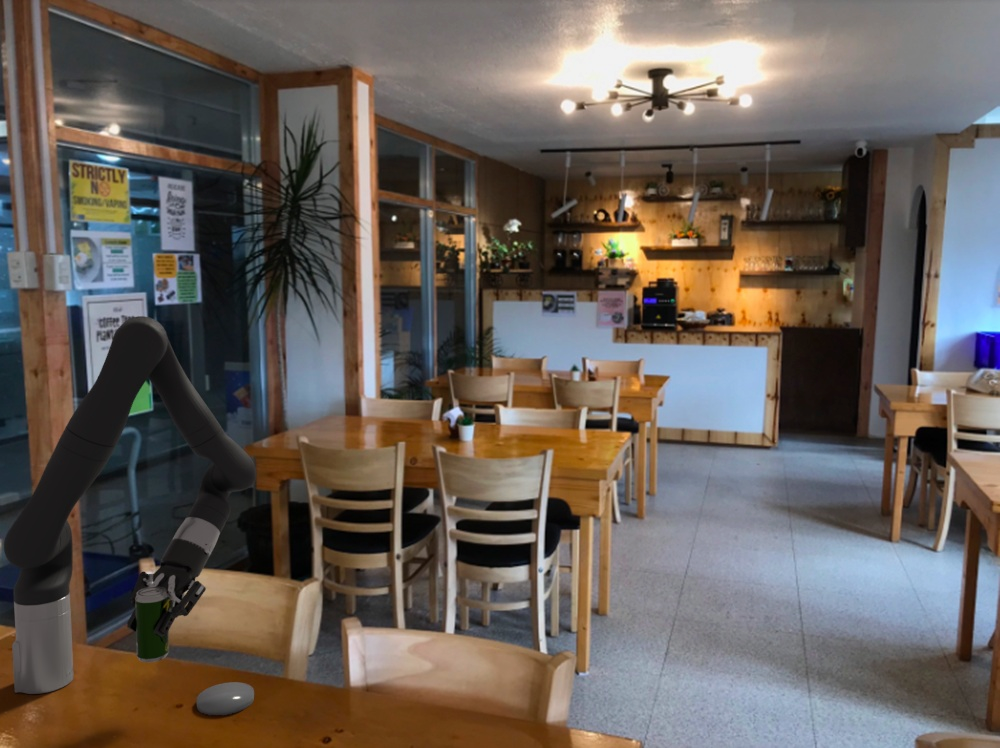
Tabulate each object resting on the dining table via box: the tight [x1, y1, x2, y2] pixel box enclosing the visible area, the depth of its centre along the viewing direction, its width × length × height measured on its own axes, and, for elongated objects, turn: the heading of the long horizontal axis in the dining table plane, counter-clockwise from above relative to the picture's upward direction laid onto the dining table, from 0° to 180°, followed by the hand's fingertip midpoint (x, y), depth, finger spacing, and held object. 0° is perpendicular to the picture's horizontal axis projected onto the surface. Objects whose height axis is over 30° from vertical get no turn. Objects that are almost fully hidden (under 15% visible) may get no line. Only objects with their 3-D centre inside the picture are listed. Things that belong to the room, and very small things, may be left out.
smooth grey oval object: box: [196, 681, 255, 716], centre depth 144 cm, size 10×10×1 cm
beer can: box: [134, 587, 170, 663], centre depth 140 cm, size 5×5×12 cm
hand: (144, 632), depth 139 cm, fingers closed on beer can, 5 cm apart
